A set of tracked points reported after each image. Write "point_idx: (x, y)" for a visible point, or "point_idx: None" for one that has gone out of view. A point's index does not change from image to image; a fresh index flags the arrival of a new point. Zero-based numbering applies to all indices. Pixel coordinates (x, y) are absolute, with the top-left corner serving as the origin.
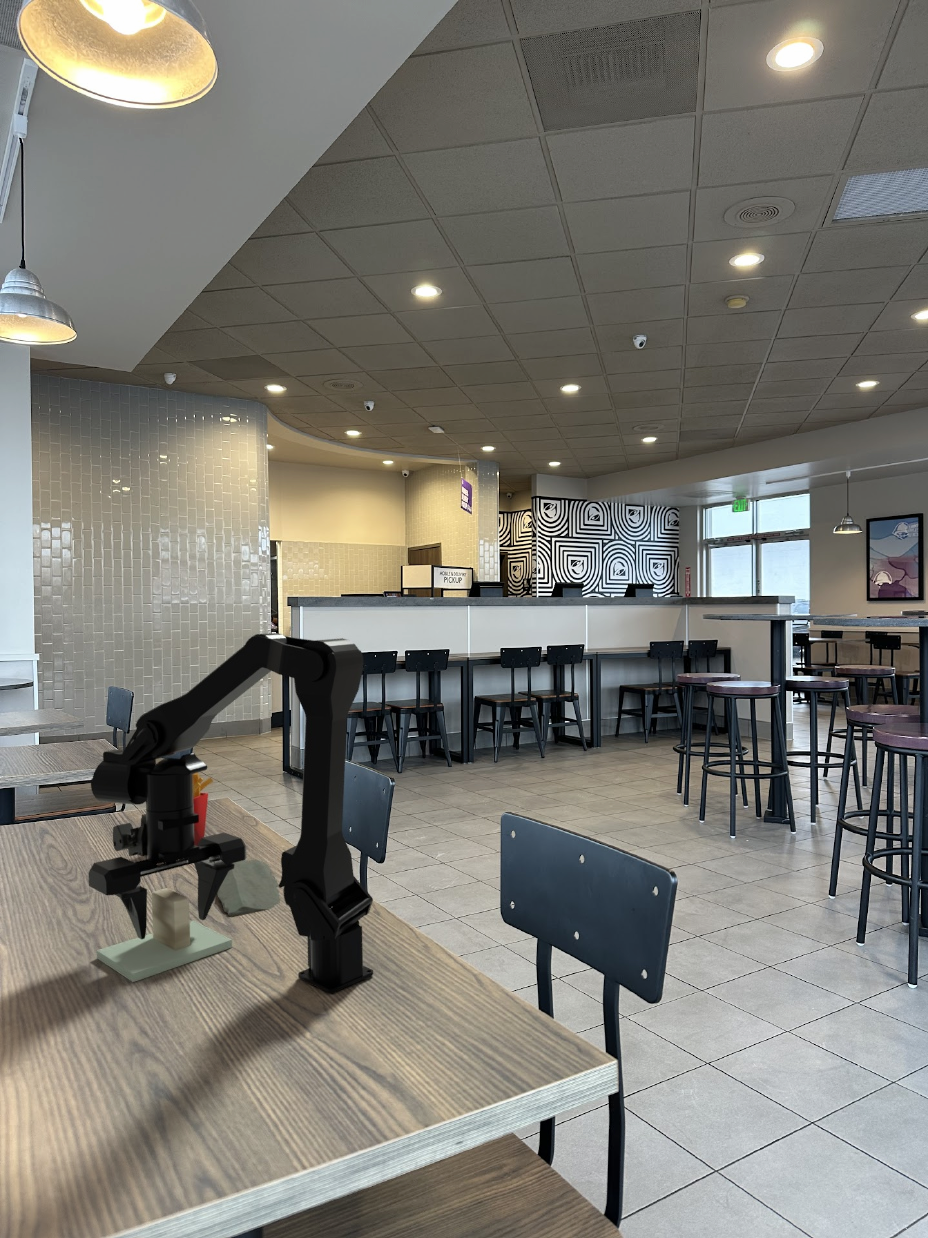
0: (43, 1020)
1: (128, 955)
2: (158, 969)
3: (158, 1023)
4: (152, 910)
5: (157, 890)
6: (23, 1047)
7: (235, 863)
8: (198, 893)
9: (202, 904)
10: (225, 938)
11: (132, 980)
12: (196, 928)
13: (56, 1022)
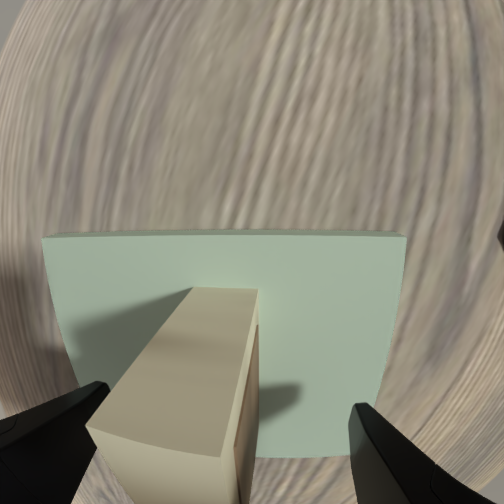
0: (9, 387)
1: (96, 348)
2: None
3: (126, 494)
4: (144, 351)
5: (128, 440)
6: (9, 412)
7: None
8: (389, 477)
9: (361, 471)
10: None
11: None
12: (361, 331)
13: (22, 404)
